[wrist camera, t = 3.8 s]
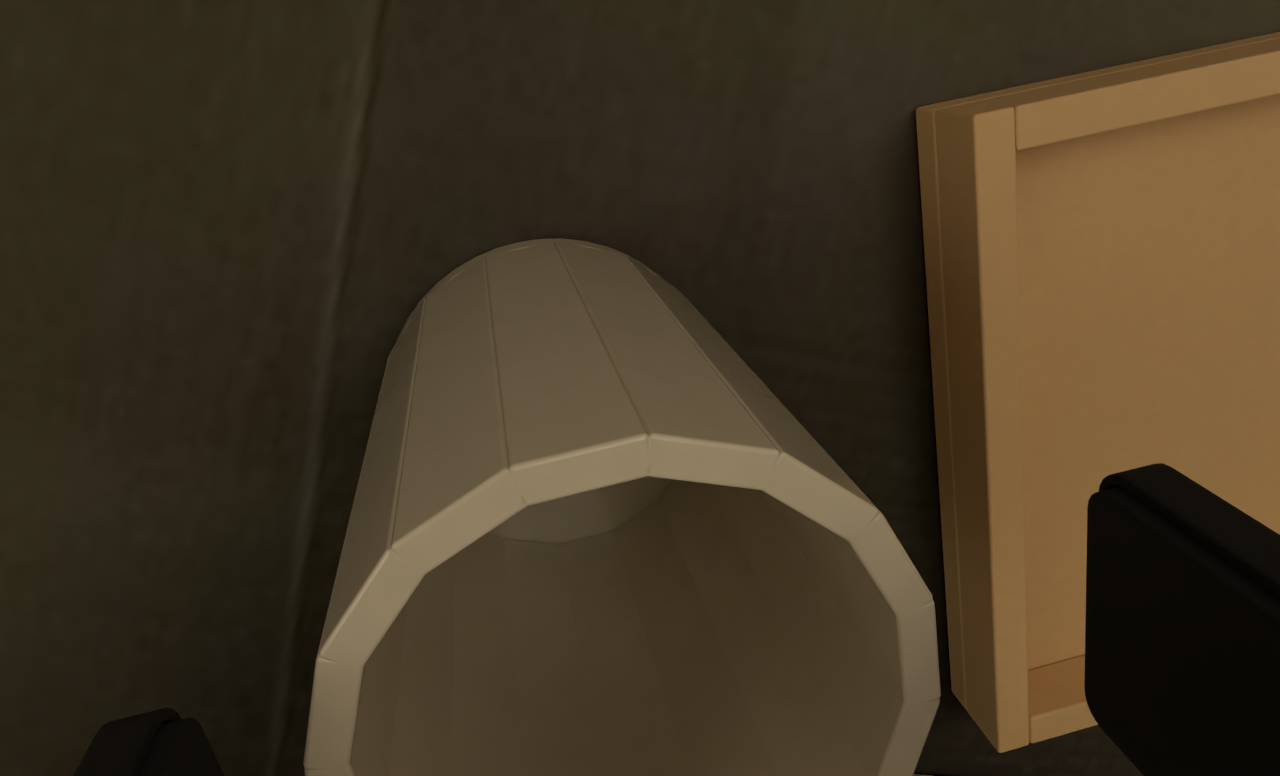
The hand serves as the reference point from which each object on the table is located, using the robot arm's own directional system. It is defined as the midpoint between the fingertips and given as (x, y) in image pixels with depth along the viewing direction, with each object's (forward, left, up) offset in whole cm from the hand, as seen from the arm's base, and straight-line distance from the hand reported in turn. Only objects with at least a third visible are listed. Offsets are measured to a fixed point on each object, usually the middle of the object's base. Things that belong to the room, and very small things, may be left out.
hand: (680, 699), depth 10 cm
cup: (0, 0, -10) cm, 10 cm away
